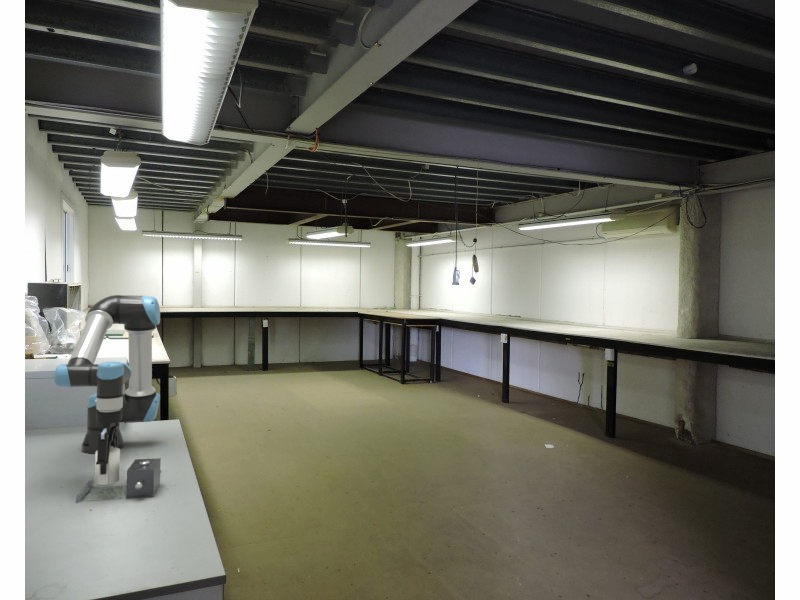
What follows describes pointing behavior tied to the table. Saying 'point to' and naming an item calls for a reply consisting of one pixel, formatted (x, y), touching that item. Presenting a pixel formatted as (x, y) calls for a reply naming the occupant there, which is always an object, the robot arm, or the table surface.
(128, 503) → the table surface
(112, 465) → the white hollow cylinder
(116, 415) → the robot arm
